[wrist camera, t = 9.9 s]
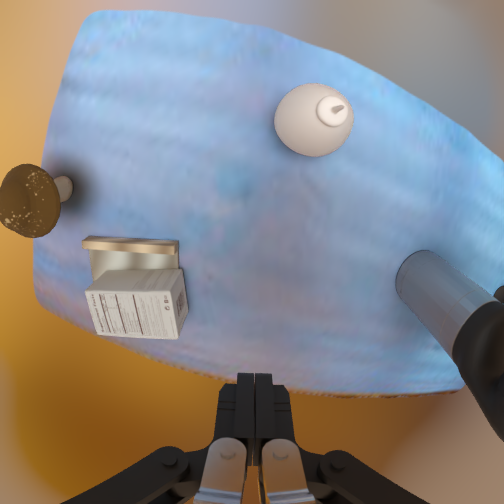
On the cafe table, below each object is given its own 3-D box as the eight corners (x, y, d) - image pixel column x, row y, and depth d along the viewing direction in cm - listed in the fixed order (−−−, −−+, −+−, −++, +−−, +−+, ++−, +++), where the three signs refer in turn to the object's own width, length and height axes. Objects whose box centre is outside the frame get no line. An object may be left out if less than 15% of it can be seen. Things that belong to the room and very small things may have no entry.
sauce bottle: (311, 166, 36) (359, 181, 20) (259, 133, 35) (266, 118, 18) (341, 119, 34) (409, 100, 17) (291, 85, 33) (324, 36, 16)
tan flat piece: (178, 240, 40) (174, 246, 38) (181, 325, 45) (178, 334, 42) (89, 236, 40) (81, 240, 37) (101, 315, 44) (95, 322, 42)
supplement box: (189, 312, 43) (115, 310, 43) (183, 267, 41) (105, 268, 41) (179, 341, 36) (96, 336, 36) (169, 291, 34) (82, 289, 34)
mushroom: (98, 223, 39) (38, 259, 25) (43, 211, 38) (-20, 239, 24) (104, 161, 36) (38, 172, 22) (47, 154, 35) (-21, 165, 21)
